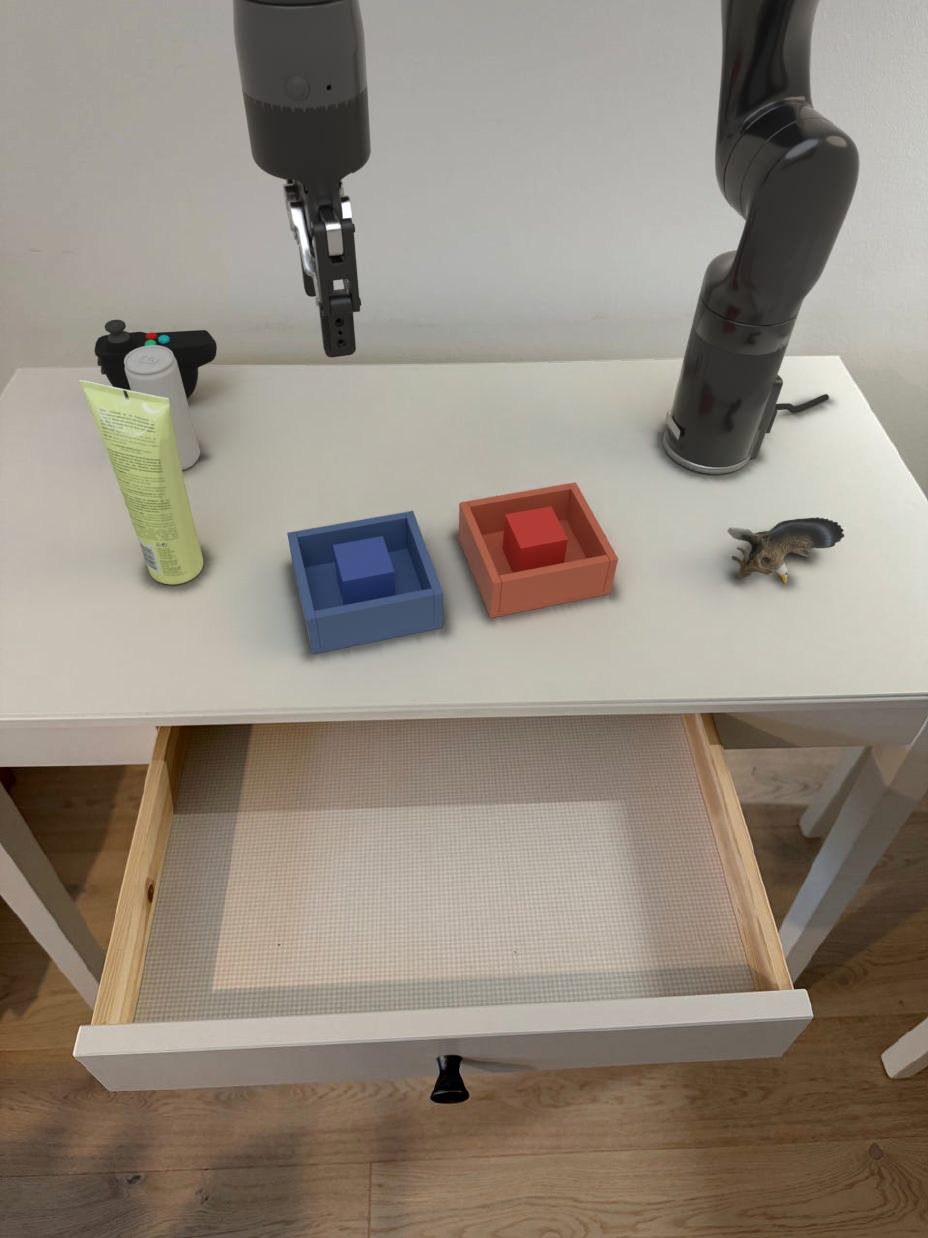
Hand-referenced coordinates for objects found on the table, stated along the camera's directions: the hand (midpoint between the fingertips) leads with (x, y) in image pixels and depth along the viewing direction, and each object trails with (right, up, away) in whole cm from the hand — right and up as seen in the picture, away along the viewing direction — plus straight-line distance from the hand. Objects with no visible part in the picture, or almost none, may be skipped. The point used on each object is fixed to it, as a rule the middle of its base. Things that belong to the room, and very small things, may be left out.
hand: (329, 322), depth 65 cm
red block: (+16, -17, +17) cm, 29 cm away
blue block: (+1, -20, +14) cm, 24 cm away
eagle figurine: (+39, -17, +18) cm, 47 cm away
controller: (-23, +2, +33) cm, 40 cm away
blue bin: (+1, -20, +15) cm, 25 cm away
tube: (-17, -17, +17) cm, 29 cm away
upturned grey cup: (-20, -5, +27) cm, 34 cm away
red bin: (+16, -17, +18) cm, 30 cm away
